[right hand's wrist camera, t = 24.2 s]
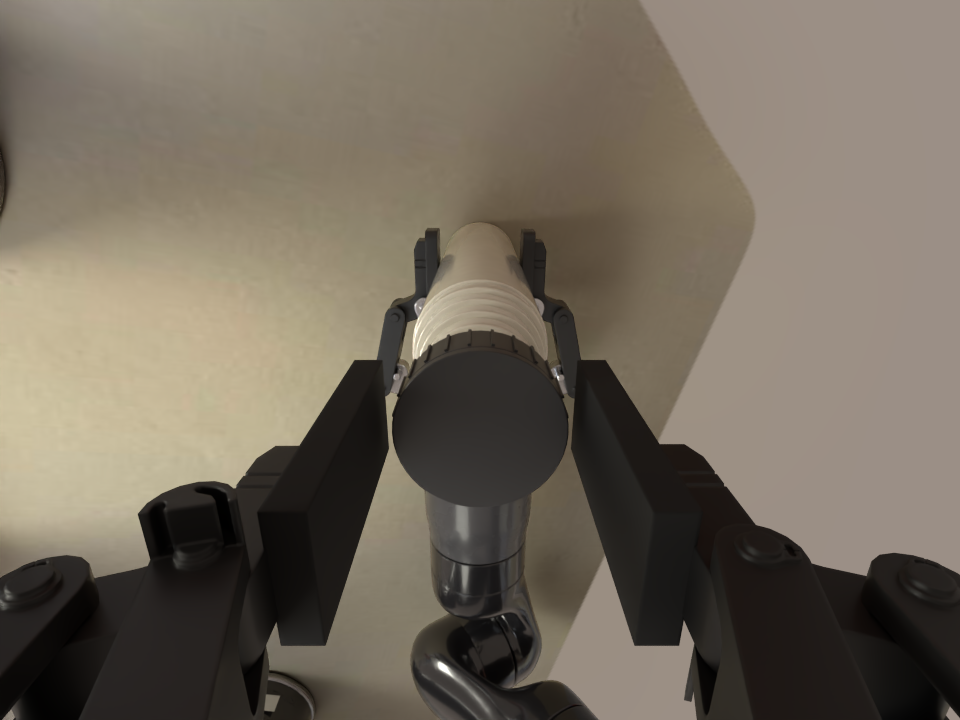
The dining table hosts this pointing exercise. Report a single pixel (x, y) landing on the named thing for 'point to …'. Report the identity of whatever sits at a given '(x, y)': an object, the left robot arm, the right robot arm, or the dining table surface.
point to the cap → (480, 419)
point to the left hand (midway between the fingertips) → (479, 231)
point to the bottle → (480, 292)
